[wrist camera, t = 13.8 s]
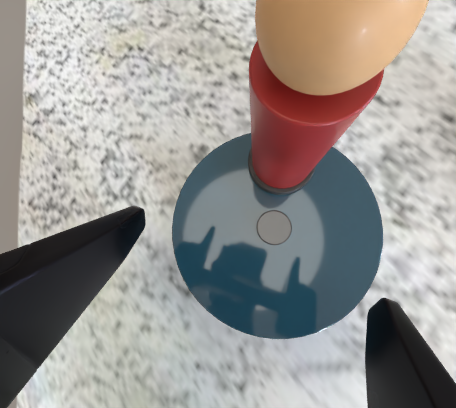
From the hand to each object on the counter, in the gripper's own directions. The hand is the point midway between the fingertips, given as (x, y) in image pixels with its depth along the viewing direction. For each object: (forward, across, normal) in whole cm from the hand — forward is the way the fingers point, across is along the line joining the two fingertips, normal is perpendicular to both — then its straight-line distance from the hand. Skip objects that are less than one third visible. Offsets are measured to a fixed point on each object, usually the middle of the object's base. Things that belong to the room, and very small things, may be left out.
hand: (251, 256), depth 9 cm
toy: (+10, 0, +1) cm, 10 cm away
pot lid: (+7, -1, +5) cm, 9 cm away
